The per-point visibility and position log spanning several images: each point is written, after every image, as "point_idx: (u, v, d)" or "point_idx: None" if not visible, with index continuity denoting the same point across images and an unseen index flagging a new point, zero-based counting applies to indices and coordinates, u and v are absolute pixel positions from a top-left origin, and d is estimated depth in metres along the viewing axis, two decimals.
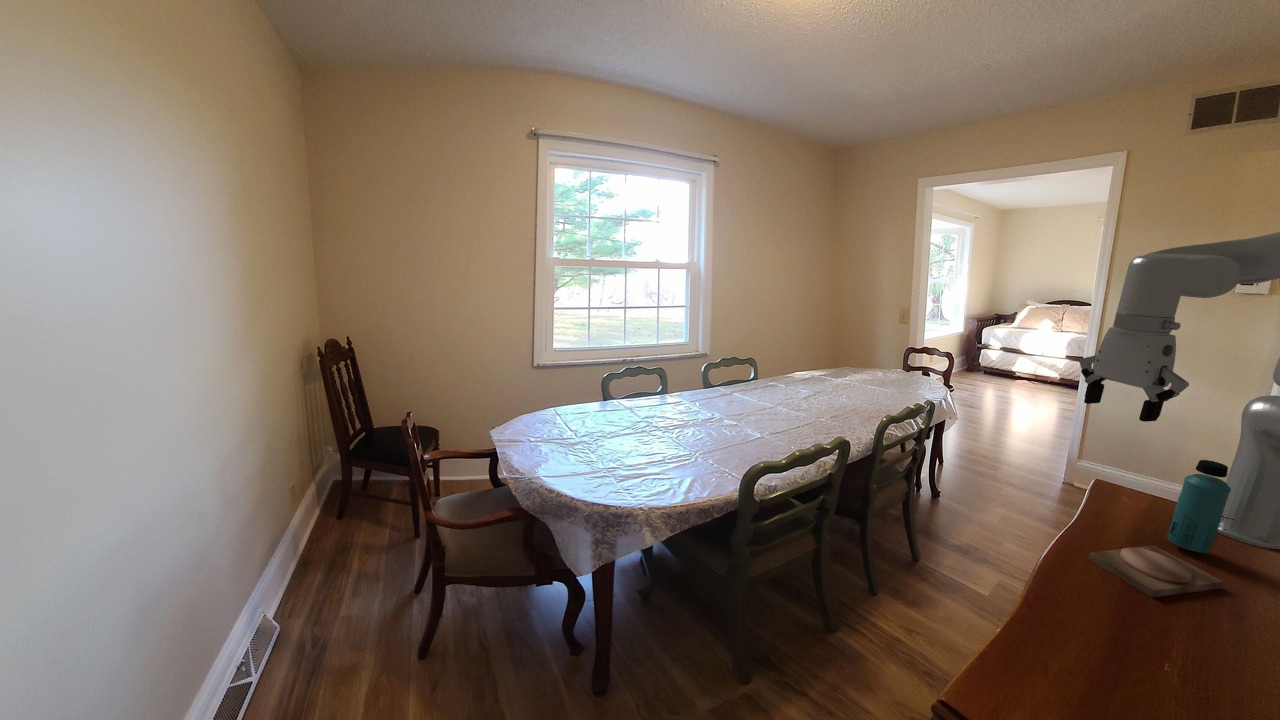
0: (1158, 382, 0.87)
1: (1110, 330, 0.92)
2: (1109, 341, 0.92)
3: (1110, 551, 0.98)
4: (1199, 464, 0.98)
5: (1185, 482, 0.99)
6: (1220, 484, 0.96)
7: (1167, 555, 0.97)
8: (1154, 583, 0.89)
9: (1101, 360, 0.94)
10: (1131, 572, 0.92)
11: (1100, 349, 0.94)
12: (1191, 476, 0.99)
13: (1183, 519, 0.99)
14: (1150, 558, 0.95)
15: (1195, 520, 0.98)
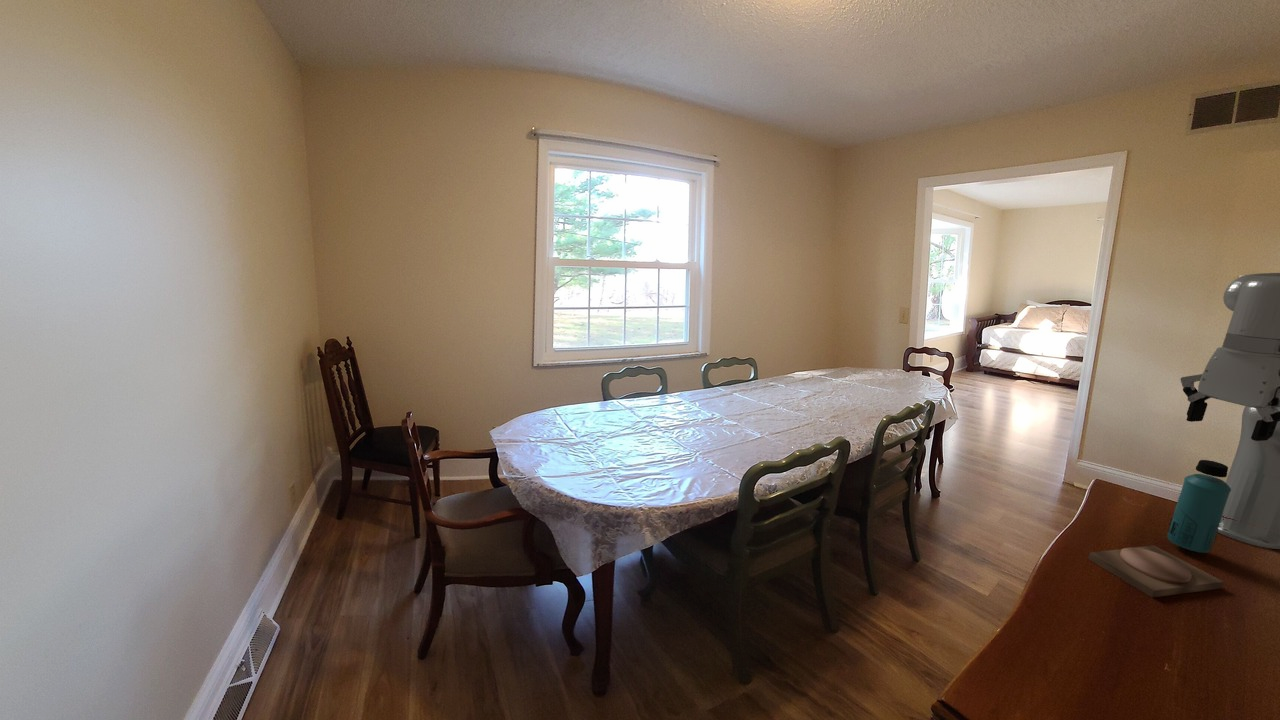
0: (1271, 402, 0.89)
1: (1219, 350, 0.94)
2: (1218, 361, 0.94)
3: (1110, 551, 0.98)
4: (1199, 464, 0.98)
5: (1185, 482, 0.99)
6: (1220, 484, 0.96)
7: (1167, 555, 0.97)
8: (1154, 583, 0.89)
9: (1208, 379, 0.95)
10: (1131, 572, 0.92)
11: (1207, 369, 0.96)
12: (1191, 476, 0.99)
13: (1183, 519, 0.99)
14: (1150, 558, 0.95)
15: (1195, 520, 0.98)
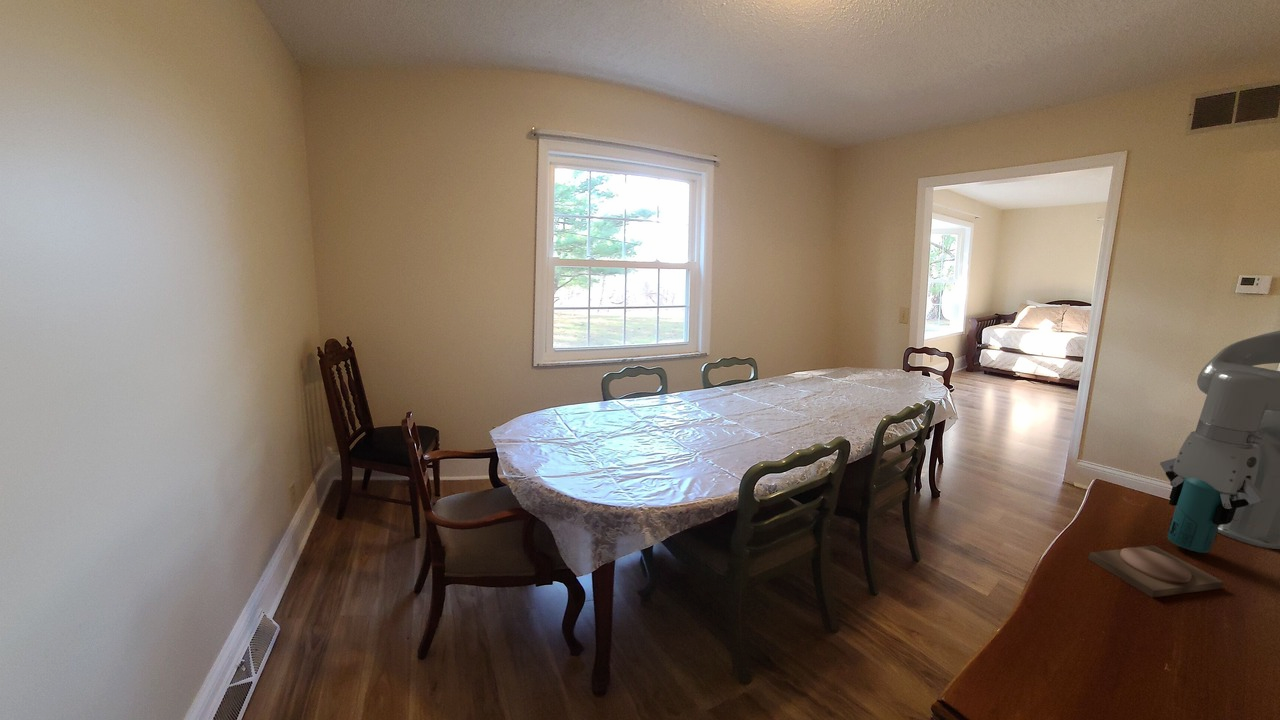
0: None
1: (1192, 435, 0.98)
2: (1191, 446, 0.98)
3: (1110, 551, 0.98)
4: None
5: (1185, 482, 0.99)
6: None
7: (1167, 555, 0.97)
8: (1154, 583, 0.89)
9: (1182, 462, 1.00)
10: (1131, 572, 0.92)
11: (1181, 451, 1.00)
12: None
13: (1183, 519, 0.99)
14: (1150, 558, 0.95)
15: (1195, 520, 0.98)
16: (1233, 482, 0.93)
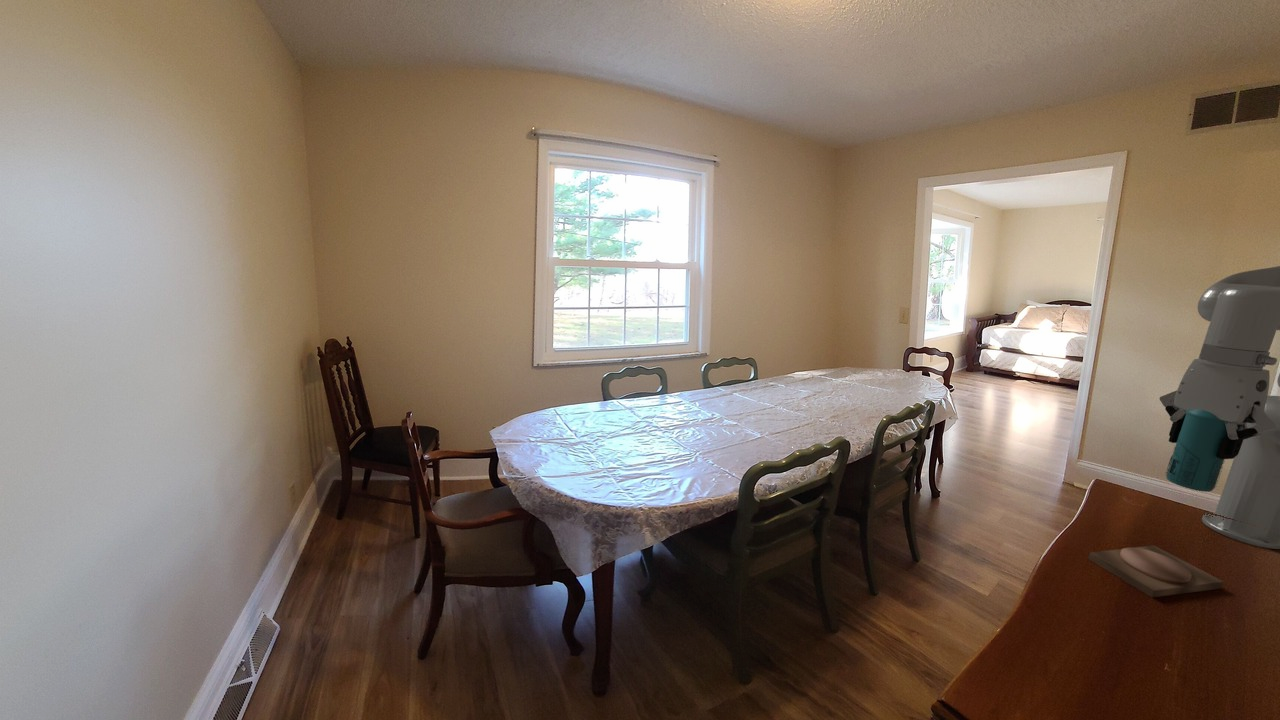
0: None
1: (1195, 362, 0.89)
2: (1194, 373, 0.89)
3: (1110, 551, 0.98)
4: None
5: (1187, 414, 0.90)
6: None
7: (1167, 555, 0.97)
8: (1154, 583, 0.89)
9: (1184, 392, 0.91)
10: (1131, 572, 0.92)
11: (1183, 381, 0.91)
12: None
13: (1184, 454, 0.90)
14: (1150, 558, 0.95)
15: (1197, 455, 0.89)
16: (1240, 409, 0.83)
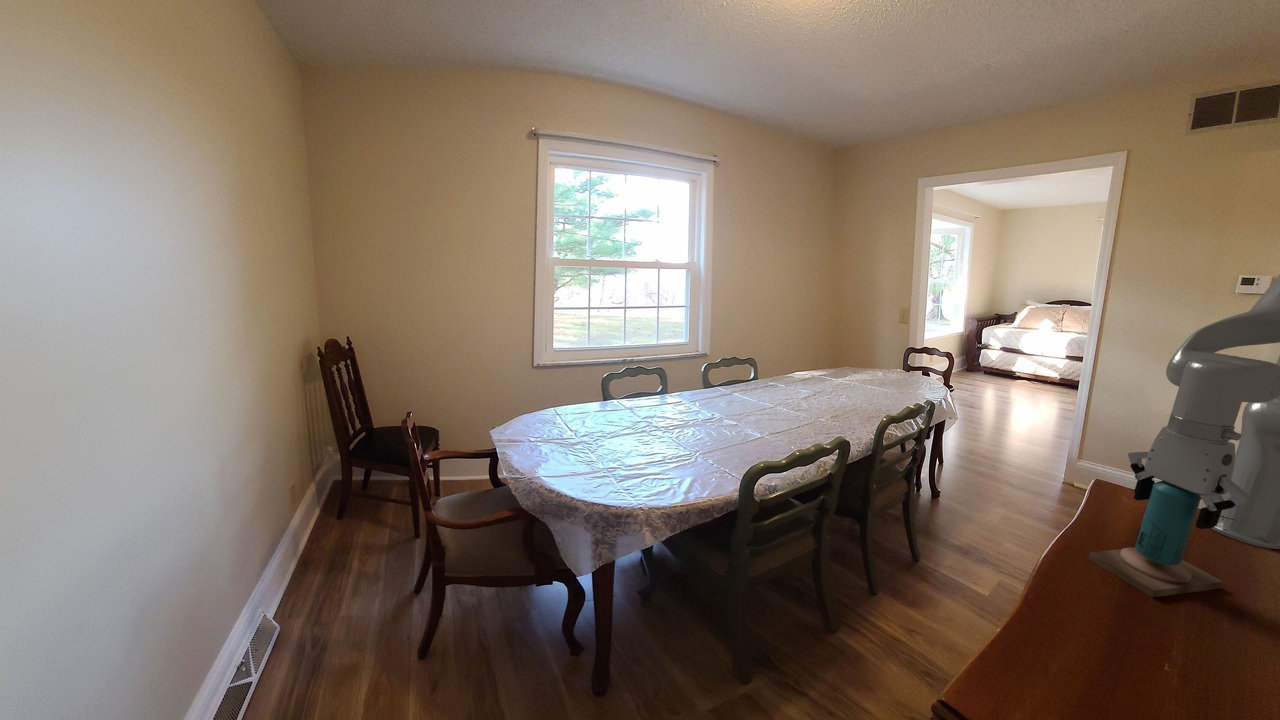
0: (1215, 489, 0.85)
1: (1164, 431, 0.90)
2: (1163, 442, 0.90)
3: (1110, 551, 0.98)
4: None
5: (1153, 489, 0.92)
6: None
7: None
8: (1154, 583, 0.89)
9: (1153, 459, 0.92)
10: (1131, 572, 0.92)
11: (1152, 448, 0.92)
12: (1160, 483, 0.91)
13: (1152, 529, 0.92)
14: None
15: (1163, 531, 0.90)
16: (1207, 482, 0.84)
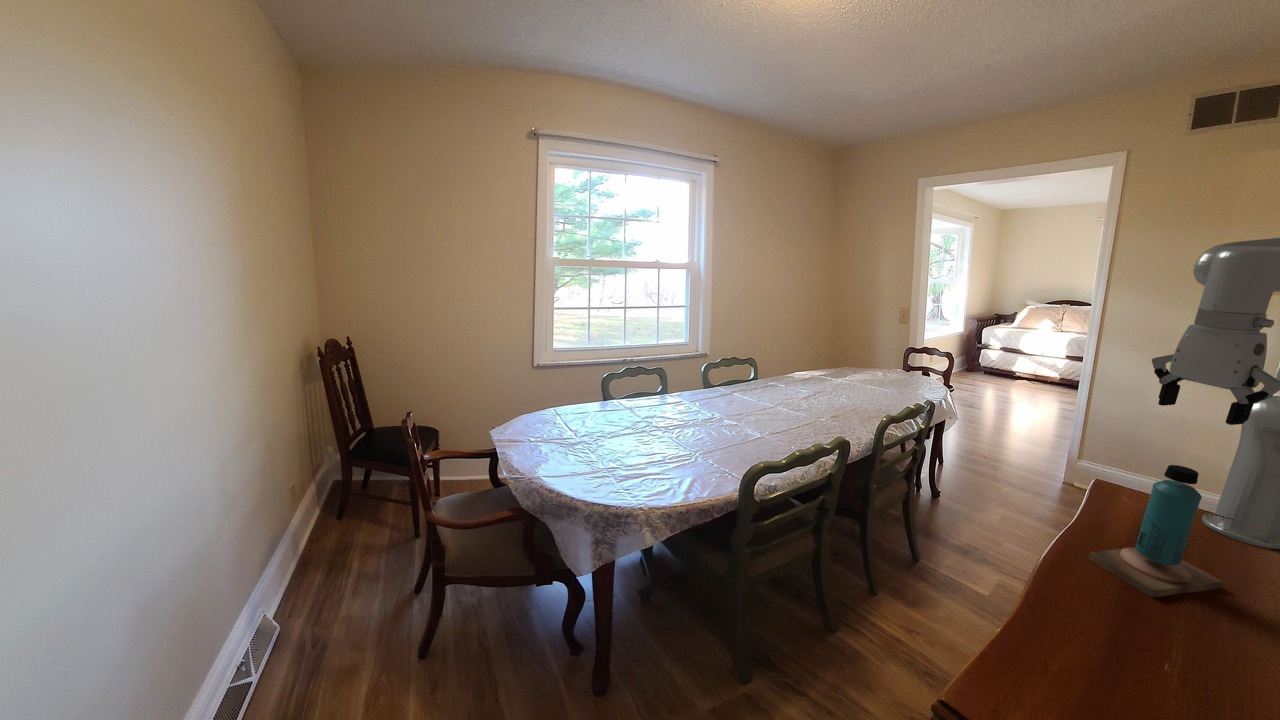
0: (1246, 383, 0.82)
1: (1190, 328, 0.87)
2: (1189, 340, 0.87)
3: (1110, 551, 0.98)
4: (1168, 470, 0.90)
5: (1153, 489, 0.92)
6: (1190, 491, 0.88)
7: None
8: (1154, 583, 0.89)
9: (1180, 360, 0.88)
10: (1131, 572, 0.92)
11: (1178, 348, 0.89)
12: (1160, 483, 0.91)
13: (1152, 529, 0.92)
14: None
15: (1163, 531, 0.90)
16: (1238, 374, 0.81)
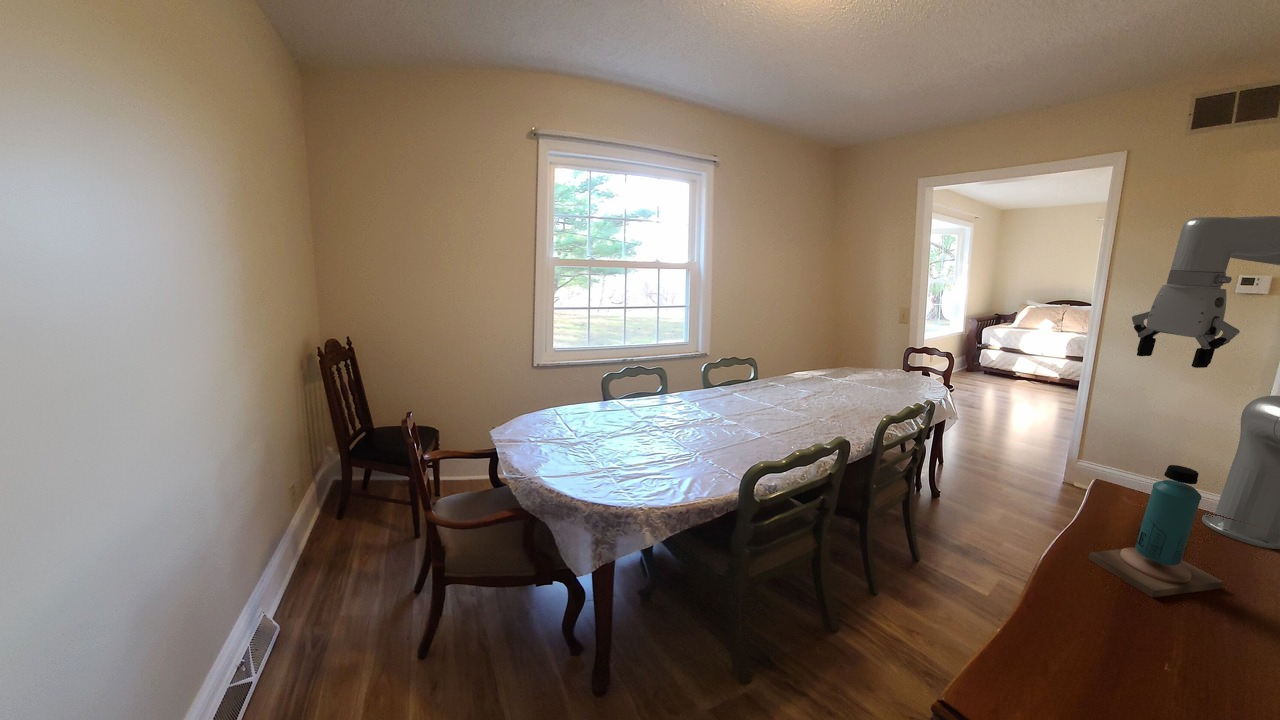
0: (1209, 332, 0.97)
1: (1164, 287, 1.02)
2: (1163, 297, 1.02)
3: (1110, 551, 0.98)
4: (1168, 470, 0.90)
5: (1153, 489, 0.92)
6: (1190, 491, 0.88)
7: None
8: (1154, 583, 0.89)
9: (1154, 315, 1.03)
10: (1131, 572, 0.92)
11: (1153, 305, 1.03)
12: (1160, 483, 0.91)
13: (1152, 529, 0.92)
14: None
15: (1163, 531, 0.90)
16: (1201, 323, 0.96)
